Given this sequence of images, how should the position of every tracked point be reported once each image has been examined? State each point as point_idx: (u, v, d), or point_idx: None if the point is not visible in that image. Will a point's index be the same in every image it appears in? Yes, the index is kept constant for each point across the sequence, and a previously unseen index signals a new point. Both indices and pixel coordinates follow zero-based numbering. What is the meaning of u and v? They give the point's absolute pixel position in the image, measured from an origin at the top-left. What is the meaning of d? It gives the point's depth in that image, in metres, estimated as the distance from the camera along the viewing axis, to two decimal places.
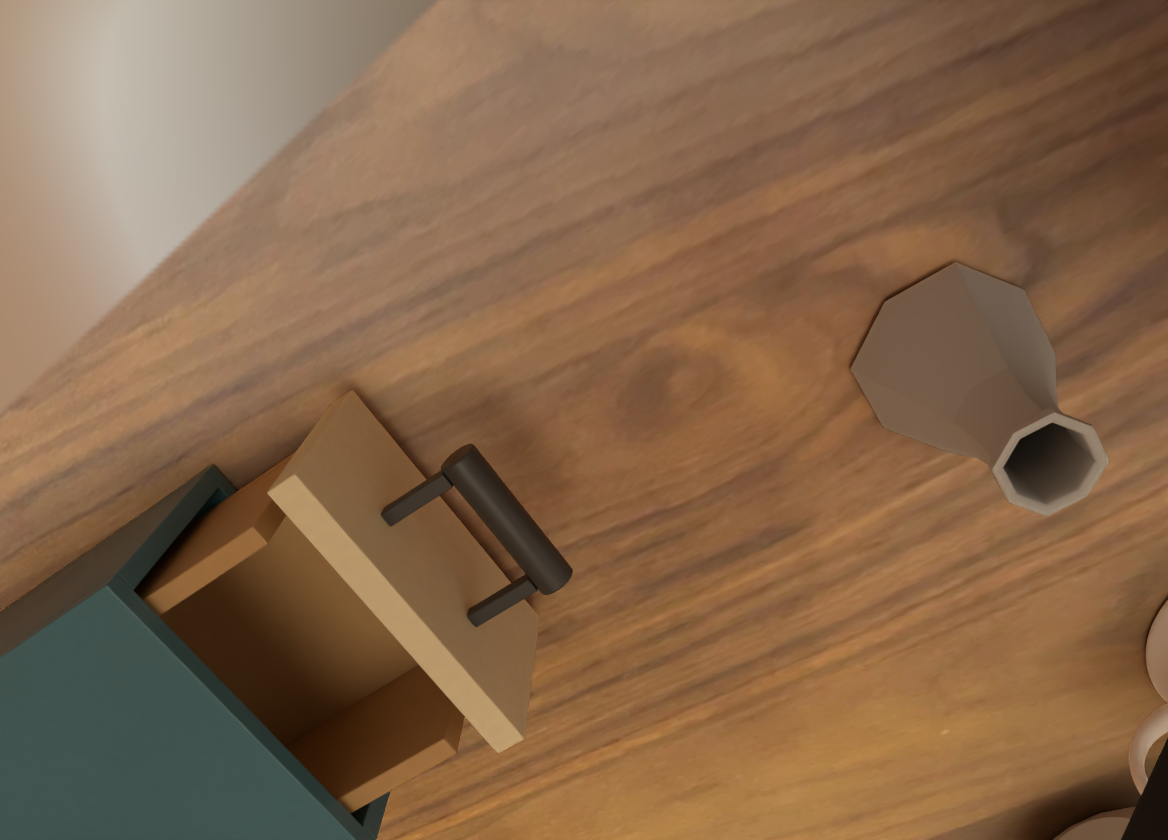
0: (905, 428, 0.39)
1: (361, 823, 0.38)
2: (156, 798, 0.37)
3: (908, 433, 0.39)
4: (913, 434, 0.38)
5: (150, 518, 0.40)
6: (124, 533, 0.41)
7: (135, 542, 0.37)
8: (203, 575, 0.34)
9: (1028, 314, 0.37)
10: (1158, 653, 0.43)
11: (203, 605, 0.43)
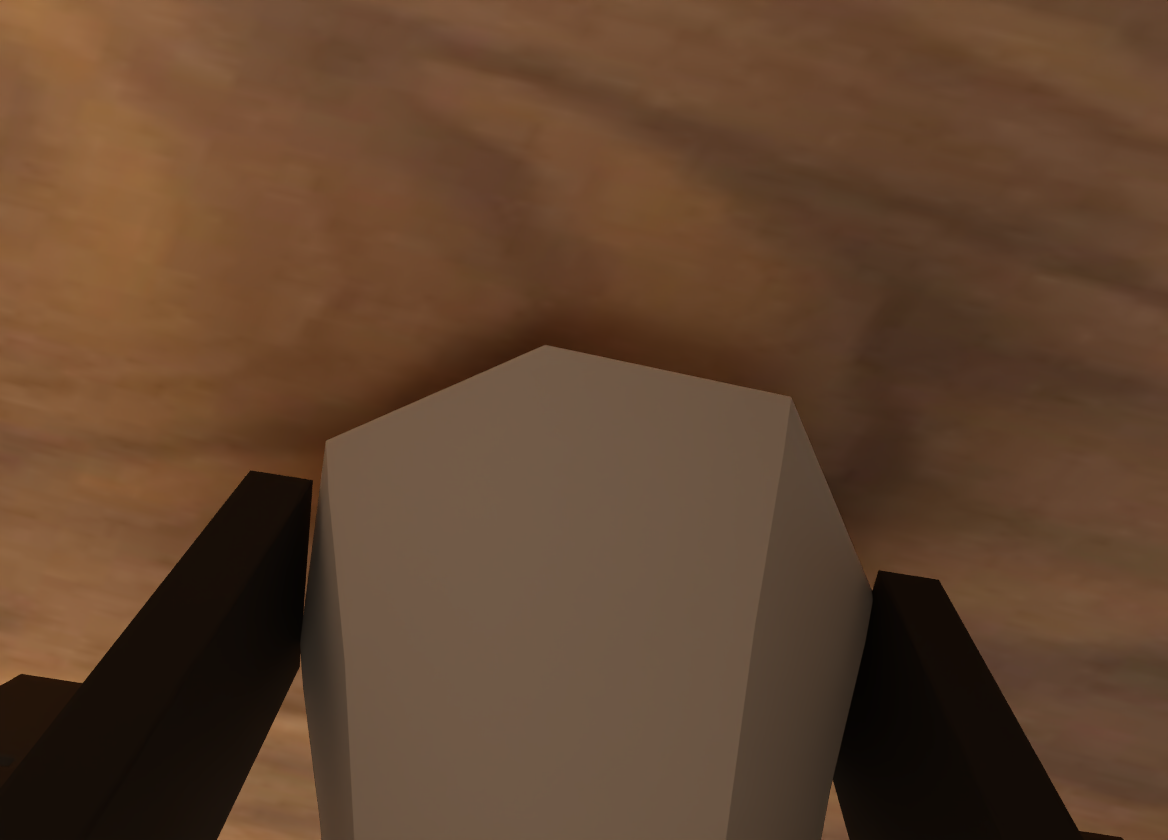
0: (312, 716, 0.11)
1: None
2: None
3: (310, 734, 0.11)
4: (313, 755, 0.11)
5: None
6: None
7: None
8: None
9: (853, 683, 0.11)
10: None
11: None
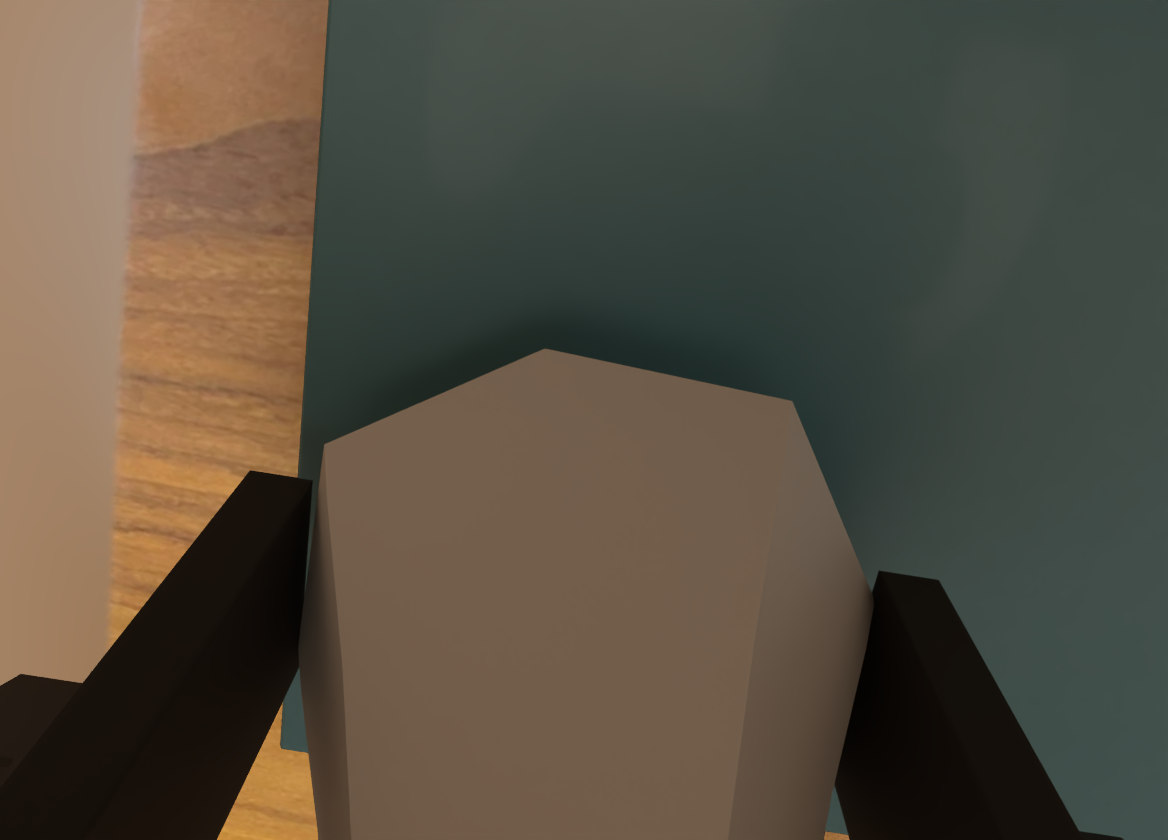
0: (310, 722, 0.11)
1: None
2: (992, 502, 0.15)
3: (308, 740, 0.11)
4: (310, 761, 0.11)
5: None
6: None
7: None
8: None
9: (854, 689, 0.11)
10: None
11: None
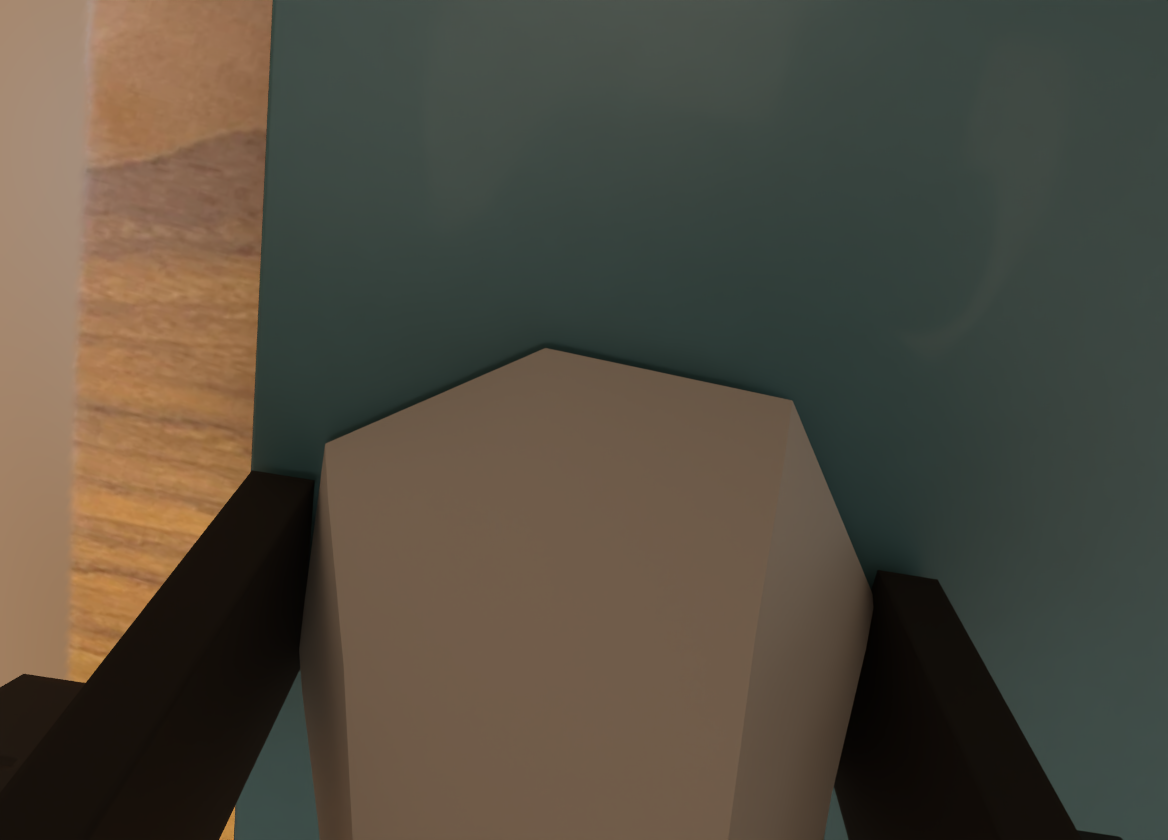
0: (311, 721, 0.11)
1: None
2: (1044, 575, 0.13)
3: (309, 739, 0.11)
4: (311, 760, 0.11)
5: None
6: None
7: None
8: None
9: (854, 688, 0.11)
10: None
11: None
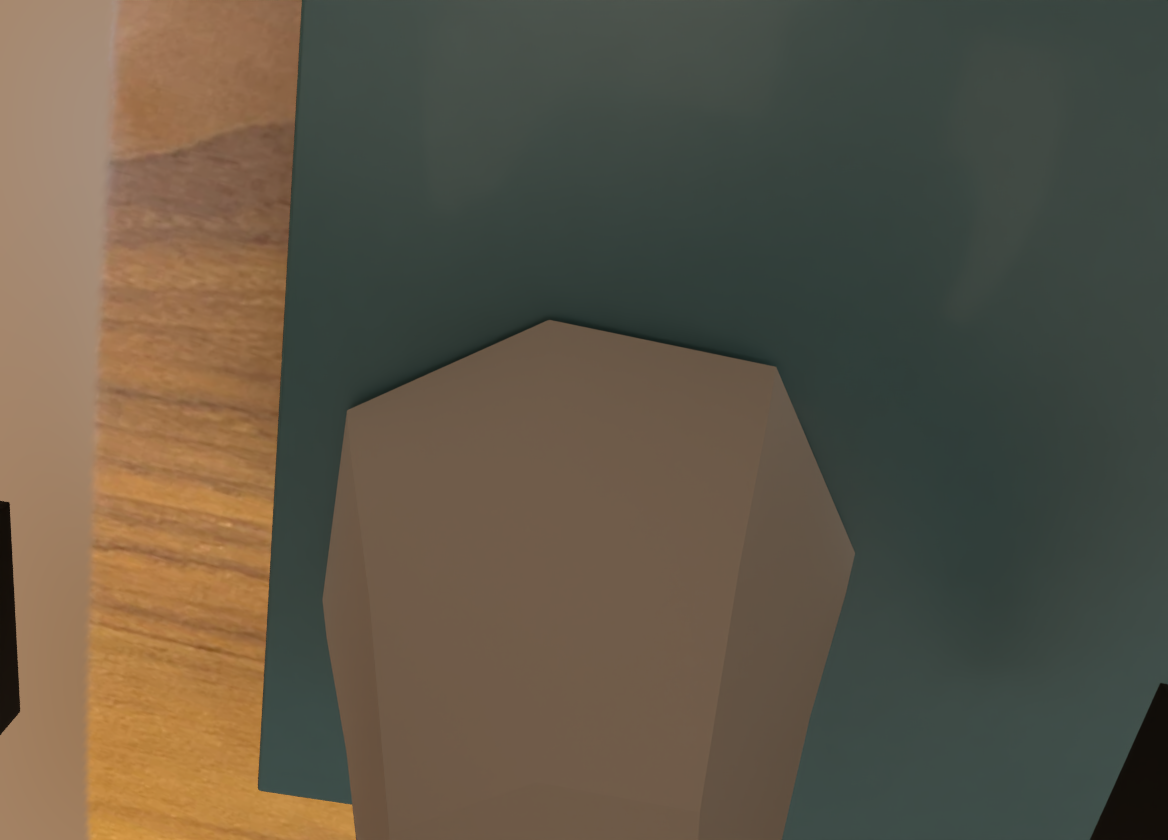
0: (337, 661, 0.12)
1: None
2: (1012, 534, 0.14)
3: (335, 678, 0.12)
4: (338, 695, 0.12)
5: None
6: None
7: None
8: None
9: (833, 628, 0.12)
10: None
11: None
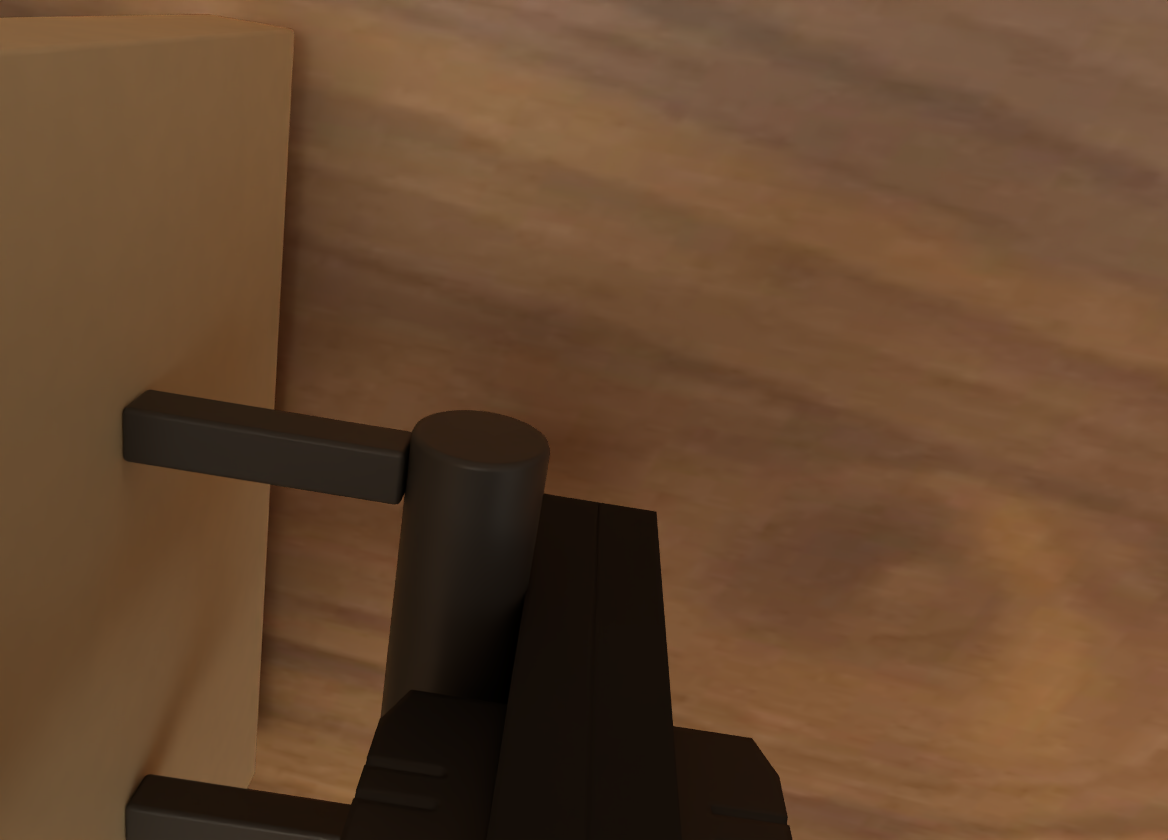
0: None
1: None
2: None
3: None
4: None
5: None
6: None
7: None
8: None
9: None
10: None
11: None
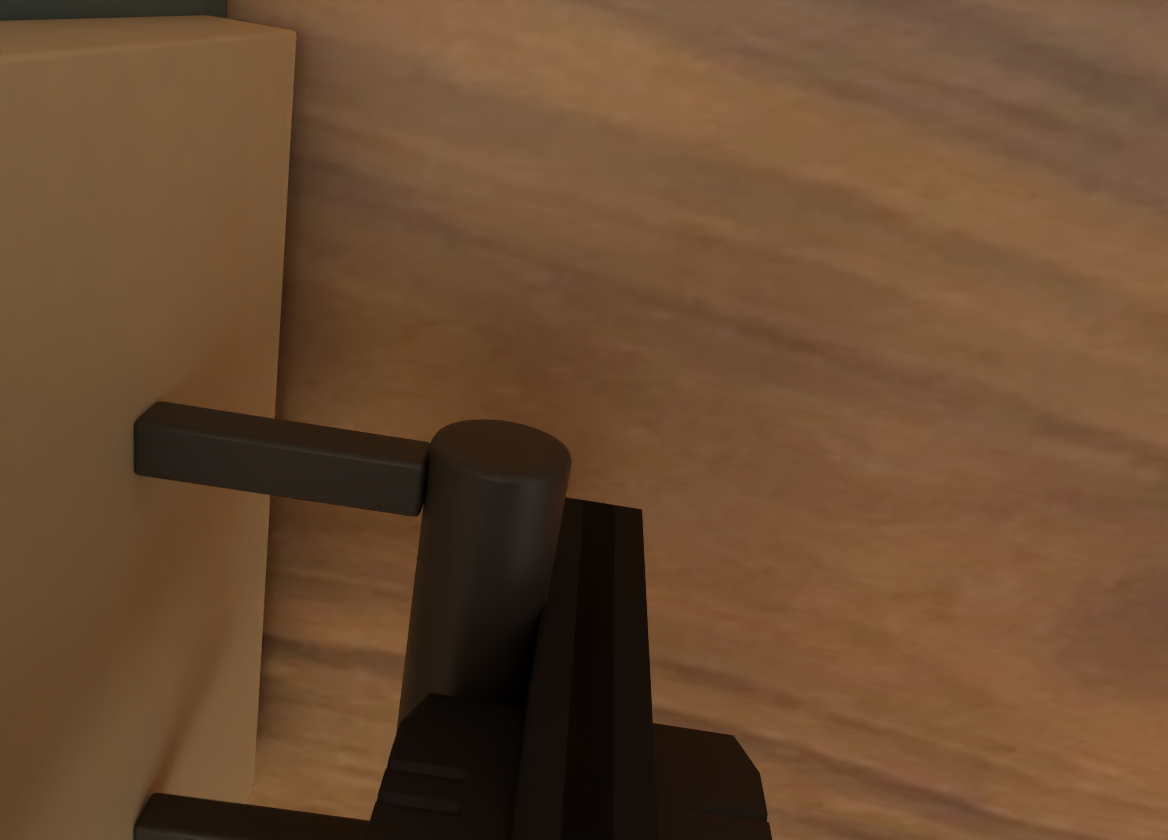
0: None
1: None
2: None
3: None
4: None
5: None
6: None
7: None
8: None
9: None
10: None
11: None
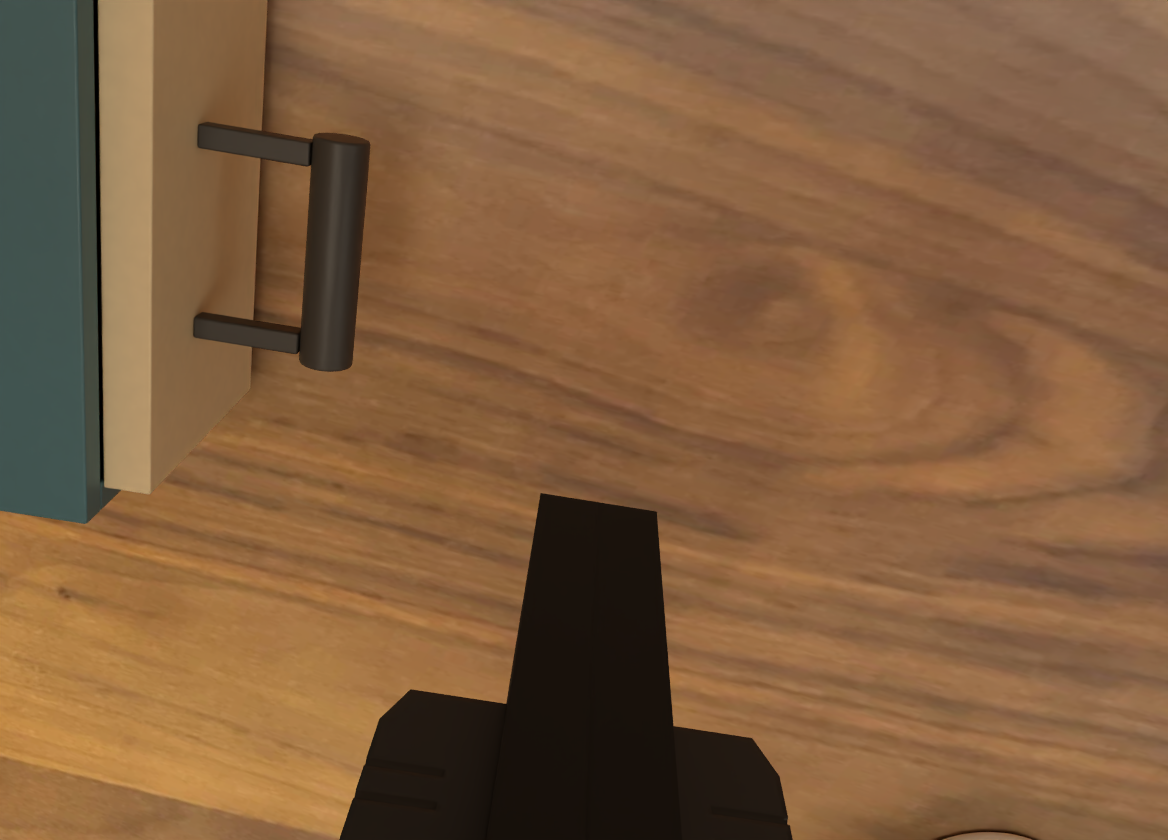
0: None
1: (99, 478, 0.26)
2: None
3: None
4: None
5: None
6: None
7: None
8: None
9: None
10: None
11: None
